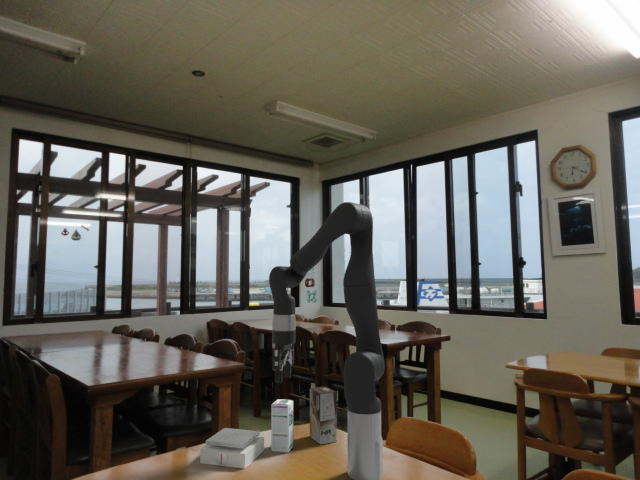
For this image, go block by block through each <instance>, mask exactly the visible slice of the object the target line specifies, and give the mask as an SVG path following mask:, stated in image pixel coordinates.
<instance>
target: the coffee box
mask: <svg viewBox="0 0 640 480" xmlns="http://www.w3.org/2000/svg"><path fill="white" fill-rule="evenodd" d="M337 393H338V392H337V391H335V390H333V389H331V388H329V387H327V386H316V387H310V388H309V437H310V438H311V439H312V440H314V441H315V442H316V443H318V444H319V445H326V444H333V443H336V442H337V441H338V440H337V438H338V437H337V435H338V434H337V432H338V431H337V430H338V429H337V420H338V419H337V418H338V416H337V413H338V412H337V405H338V404H337V402H338V401H337V400H338V399H337Z"/></svg>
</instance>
